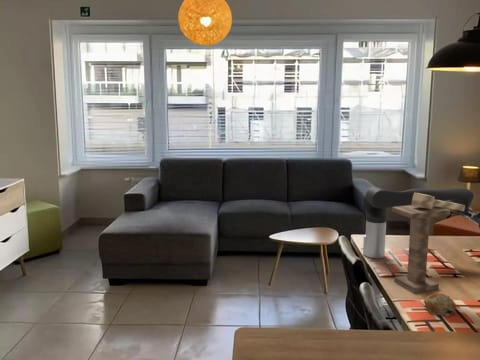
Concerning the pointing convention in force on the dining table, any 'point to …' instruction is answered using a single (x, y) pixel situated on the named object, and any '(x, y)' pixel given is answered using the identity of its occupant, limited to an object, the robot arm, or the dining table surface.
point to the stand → (418, 246)
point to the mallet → (433, 202)
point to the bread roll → (439, 304)
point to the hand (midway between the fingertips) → (468, 212)
